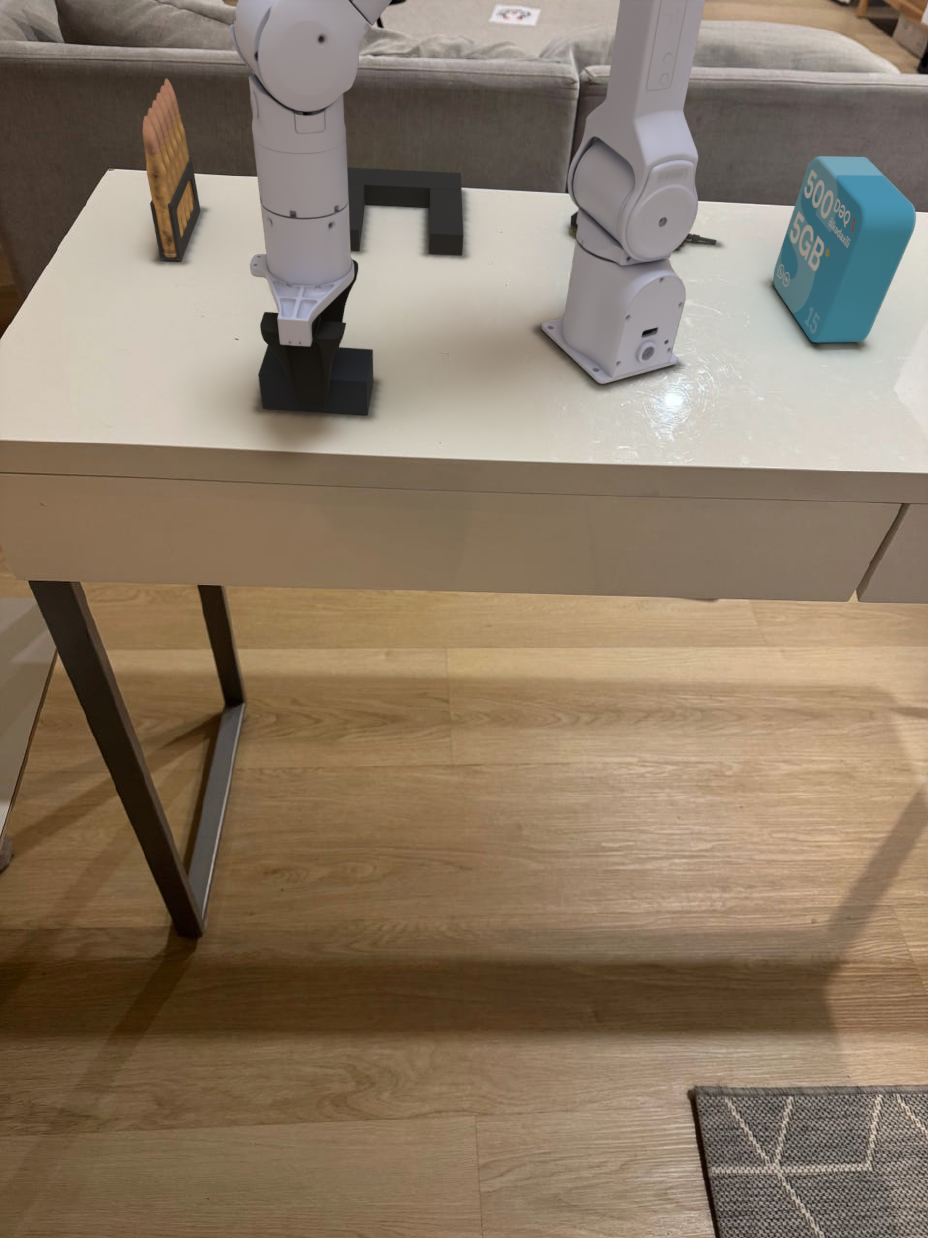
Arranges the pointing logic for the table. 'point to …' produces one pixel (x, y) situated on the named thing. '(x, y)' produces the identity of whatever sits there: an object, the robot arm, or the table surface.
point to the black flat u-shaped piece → (410, 202)
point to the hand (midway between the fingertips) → (317, 379)
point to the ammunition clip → (170, 176)
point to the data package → (842, 248)
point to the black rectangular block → (346, 383)
